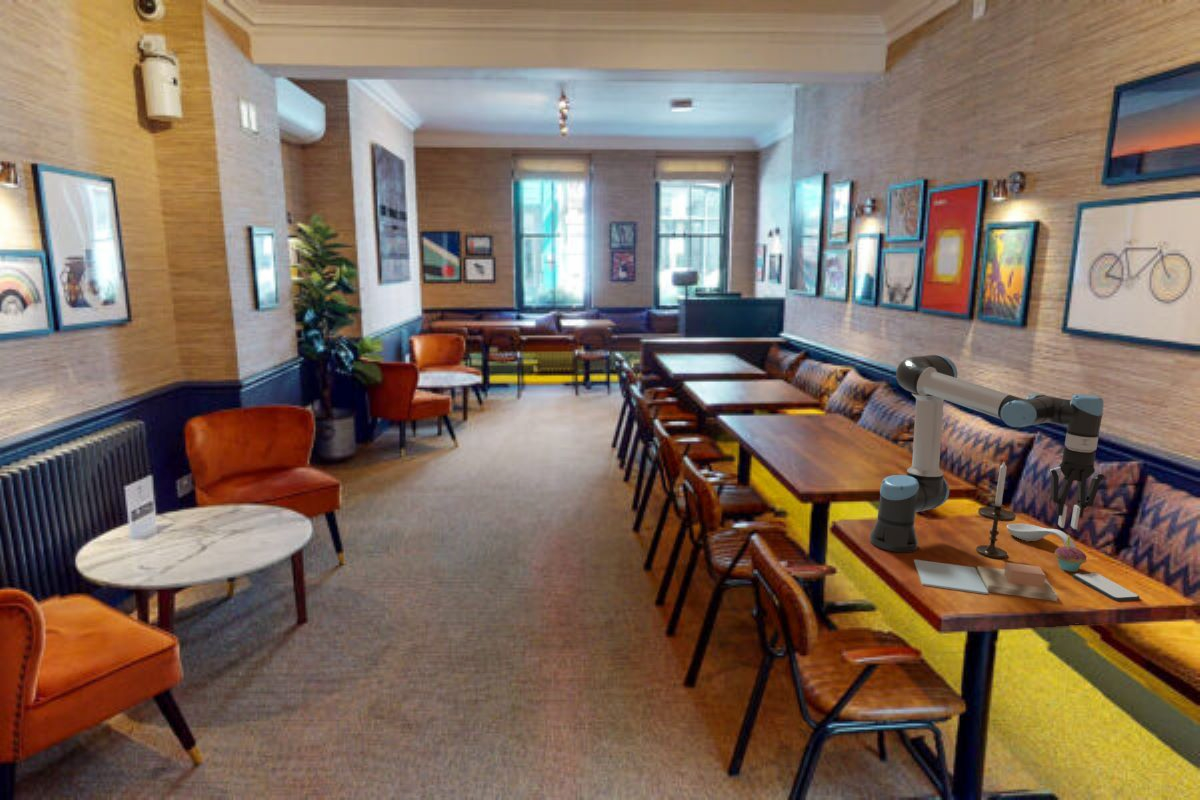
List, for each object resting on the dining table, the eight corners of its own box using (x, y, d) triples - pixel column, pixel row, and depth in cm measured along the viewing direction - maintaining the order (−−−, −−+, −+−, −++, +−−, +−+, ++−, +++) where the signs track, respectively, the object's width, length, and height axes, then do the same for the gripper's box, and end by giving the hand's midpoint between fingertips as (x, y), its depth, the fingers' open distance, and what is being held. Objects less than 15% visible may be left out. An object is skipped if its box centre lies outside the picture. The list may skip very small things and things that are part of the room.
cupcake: (1069, 575, 214) (1075, 539, 212) (1045, 564, 222) (1051, 529, 220) (1090, 572, 217) (1097, 537, 214) (1066, 561, 225) (1072, 527, 222)
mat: (922, 585, 206) (922, 583, 206) (913, 561, 223) (914, 559, 223) (988, 594, 201) (988, 592, 201) (974, 569, 218) (974, 567, 217)
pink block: (1009, 582, 204) (1011, 570, 203) (1004, 574, 210) (1005, 562, 209) (1043, 587, 201) (1045, 574, 201) (1037, 578, 207) (1039, 566, 206)
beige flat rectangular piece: (987, 591, 203) (988, 585, 202) (976, 571, 216) (977, 565, 215) (1056, 601, 197) (1057, 594, 197) (1041, 580, 211) (1042, 574, 210)
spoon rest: (998, 534, 248) (1000, 515, 247) (1022, 530, 252) (1024, 512, 250) (1060, 560, 226) (1063, 540, 225) (1085, 556, 230) (1088, 536, 229)
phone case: (1141, 601, 200) (1094, 576, 215) (1142, 596, 199) (1095, 571, 215) (1115, 603, 198) (1070, 577, 214) (1116, 598, 198) (1070, 573, 213)
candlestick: (1000, 547, 235) (1014, 449, 228) (1016, 560, 224) (1031, 458, 218) (967, 545, 236) (980, 447, 229) (981, 558, 225) (995, 456, 219)
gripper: (1053, 449, 193) (1040, 527, 198) (1117, 455, 189) (1103, 535, 194) (1044, 443, 201) (1033, 518, 205) (1106, 448, 196) (1093, 525, 201)
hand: (1067, 526), depth 199 cm, fingers open, 3 cm apart
